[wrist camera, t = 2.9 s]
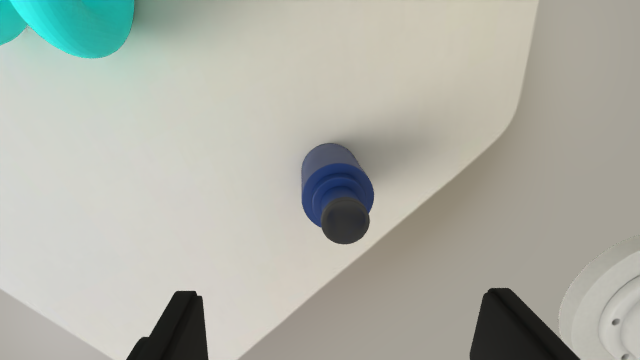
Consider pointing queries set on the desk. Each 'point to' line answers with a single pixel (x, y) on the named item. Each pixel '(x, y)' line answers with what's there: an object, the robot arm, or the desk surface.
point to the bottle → (336, 193)
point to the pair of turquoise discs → (70, 23)
